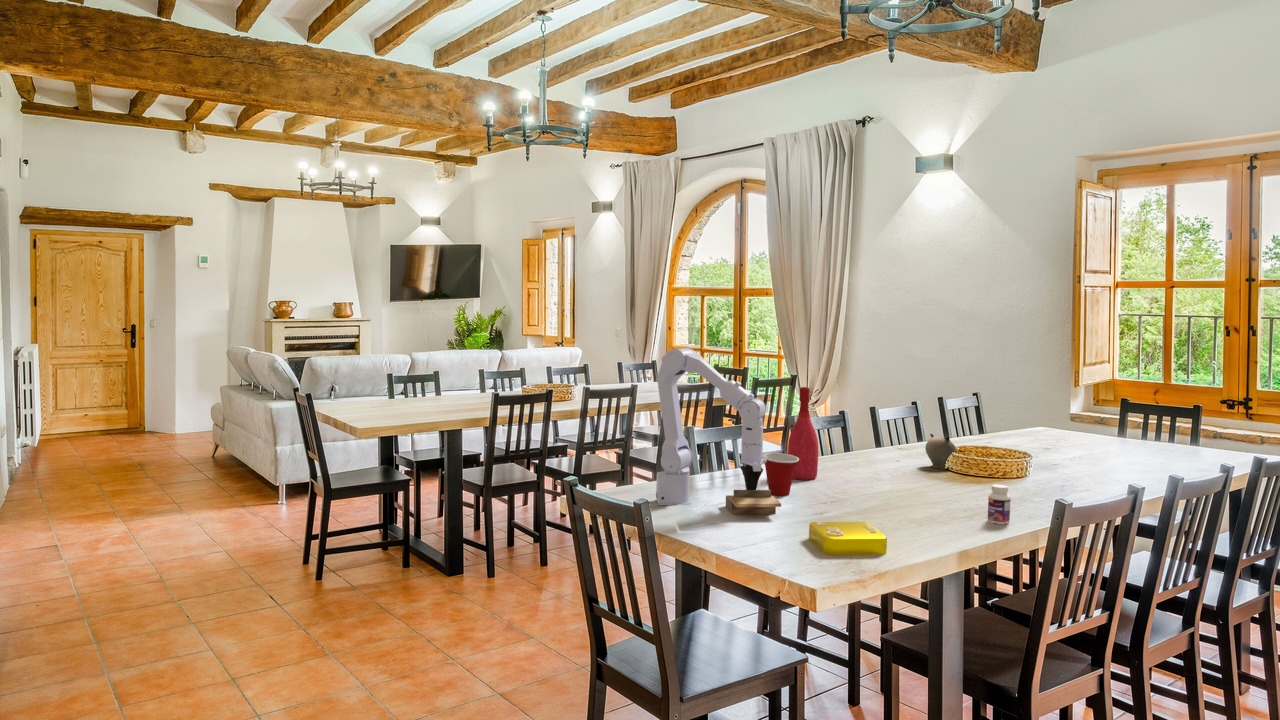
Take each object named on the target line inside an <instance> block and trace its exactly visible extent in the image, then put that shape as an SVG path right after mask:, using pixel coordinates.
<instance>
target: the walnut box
mask: <svg viewBox="0 0 1280 720" xmlns="http://www.w3.org/2000/svg"><path fill="white" fill-rule="evenodd" d="M730 496H734V494H731V495H730V494H729V495H728V494H727V495H725V507H726V509H727V510H728V511H729V513H730V514H731V515H776V514H777V512H776V511H777V510H776V509H777V507H736V506H735V505H734V504H733V503H732V501H731V500H730Z"/></svg>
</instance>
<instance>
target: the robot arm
mask: <svg viewBox="0 0 1280 720" xmlns="http://www.w3.org/2000/svg"><path fill="white" fill-rule="evenodd" d="M687 372H689V373H695V374H698V375H699V376H700V377H702V378H703V379H705V380H706V381H707V382H709V383H710V384H711V385H712V386H714V387H715V388H717V390H719V396H720V397H721V398H722V399H723V401H726V403H728V404H729V405H730V406H731V407H733V409H735V410H736V411H738V414H739V417H740V418H741V420H742V421H741V422H742V424H741V449H740V451H741V458H740V459H739V460H740V463H742V464H745V465H740V467H739V468H740V470H741V472H742V475H743V478H744V479H743V480H744V483H745V484H744V485H745V490H757V488H758V483H759V480H760V477H761V475H762V474H763V471H764V468H763V467H762V464H763V463H764V462H767V460H766V459H764V458H763V451H764V450H763V449H764V448H763V445H764V444H763V443H764V416H765V415H766V413H767V407H766V406H767V405H766V403H765V402H764V401H763V400H762V398H759V397H755V395H754V394H753V393H749V392H748V391H747V390H746V389H745V388H744V387H742V382H740V381H735V380H733V379H732V380H727V379H726V378H725V377H724V376H723V375H722V374H721V373H719V372H718V371H717V370H716V369H715V368H714V367H713V366H712V365H711V364H710V363H709V362H708V361H706V359H704V357H703V356H702V355H701V354H699V353H697V352H695V350H694V349H692V348H691V347H683V348H671V349H669V350H668V351H667V352H666V353H665V354H664V355H663V356H662V357H661V365H660V367H659V370H658V374H657V376H656V381H657V388H658V395H659V396H658V397H659V401H660V409H661V417H662V424H663V431H664V442H663V444H662V446H661V450H662V452H661V457H660V464H661V468H662V469H663V471H657V472H656V489H655V490H656V491H655V500H656V502H657V504H658V506H669V505H692V504H693V502H692V501H691V499H690V475H691V474H690V466H692V464H693V461H694V454H693V451H692V450H691V448H690V446H689V441H688V439H687V438H686V437H685V434H684V428H683V419H682V413H681V405H680V398H679V397H680V396H679V391H678V384H677V383H678V381H679V380H680V378H681V377H682V376H683V375H684V374H685V373H687Z"/></svg>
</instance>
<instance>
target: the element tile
mask: <svg viewBox="0 0 1280 720" xmlns="http://www.w3.org/2000/svg"><path fill="white" fill-rule="evenodd" d="M808 540H809V541H810V543H811V544H813V545H814V546H815V547H816V548H817V550H819V551H820V552H821V553H822V554H824V555H827V556H835V557H836V556H872V555H871V554H884V553H886V554H887V549H888V548H887V547H888V546H887V545H888V544H887V543H888V541H887V540H888V538H887V536H886V535H885V534H883V532H881V531H880V530H879V529H877V528H876V527H874V526H873V525H872V524H870V523H868V522H866V521H813V522H812V521H811V522H810V523H809V525H808ZM884 555H885V554H884Z"/></svg>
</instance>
